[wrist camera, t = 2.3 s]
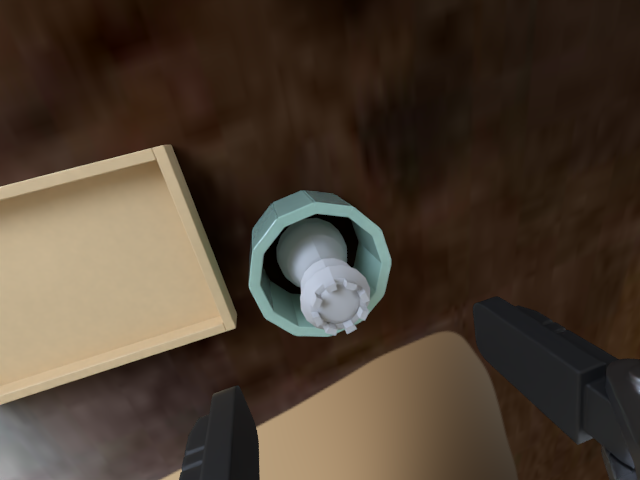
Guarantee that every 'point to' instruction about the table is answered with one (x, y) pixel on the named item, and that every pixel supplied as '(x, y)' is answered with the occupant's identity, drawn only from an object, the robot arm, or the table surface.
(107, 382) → the table surface
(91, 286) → the tray
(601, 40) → the table surface
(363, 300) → the rook chess piece
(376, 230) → the cup
